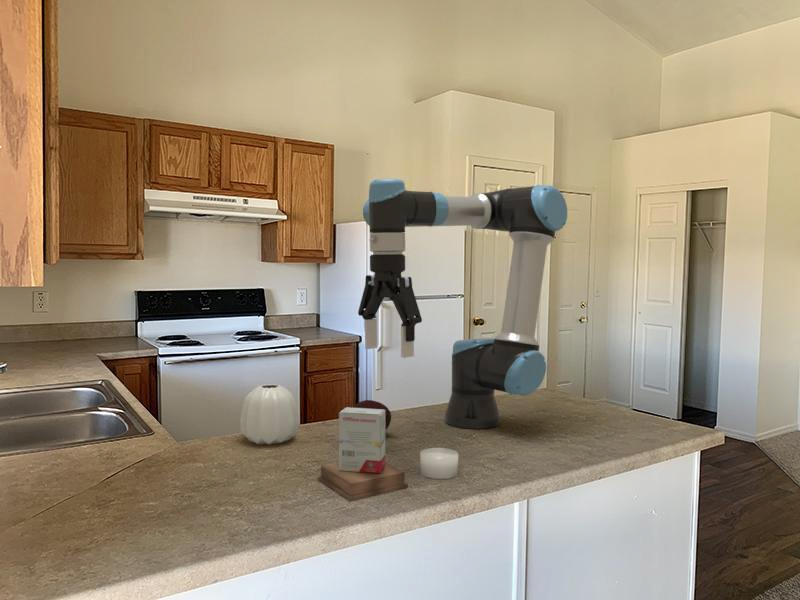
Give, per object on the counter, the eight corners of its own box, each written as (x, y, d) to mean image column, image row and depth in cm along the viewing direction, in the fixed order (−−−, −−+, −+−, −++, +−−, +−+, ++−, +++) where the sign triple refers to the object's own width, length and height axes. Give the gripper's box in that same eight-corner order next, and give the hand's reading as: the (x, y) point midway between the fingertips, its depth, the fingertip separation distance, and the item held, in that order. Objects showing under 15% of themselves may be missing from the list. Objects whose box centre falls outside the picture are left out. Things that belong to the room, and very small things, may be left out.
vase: (293, 430, 159) (293, 379, 158) (302, 446, 146) (302, 390, 145) (238, 434, 154) (238, 381, 154) (242, 451, 141) (242, 393, 140)
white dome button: (441, 463, 135) (442, 445, 135) (465, 474, 128) (466, 455, 128) (412, 470, 130) (412, 451, 130) (435, 481, 124) (436, 462, 123)
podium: (372, 468, 131) (372, 454, 131) (407, 487, 120) (408, 472, 120) (317, 479, 124) (317, 465, 123) (350, 501, 113) (350, 485, 113)
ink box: (386, 466, 123) (387, 408, 123) (380, 474, 119) (381, 414, 118) (345, 463, 125) (345, 405, 124) (337, 470, 120) (338, 411, 120)
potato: (396, 439, 152) (396, 402, 152) (349, 443, 148) (349, 405, 148) (384, 430, 161) (385, 395, 160) (340, 434, 156) (340, 398, 156)
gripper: (342, 253, 138) (343, 346, 140) (408, 253, 118) (409, 362, 120) (370, 252, 143) (371, 343, 145) (438, 253, 123) (439, 358, 124)
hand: (388, 352), depth 132 cm, fingers open, 13 cm apart
